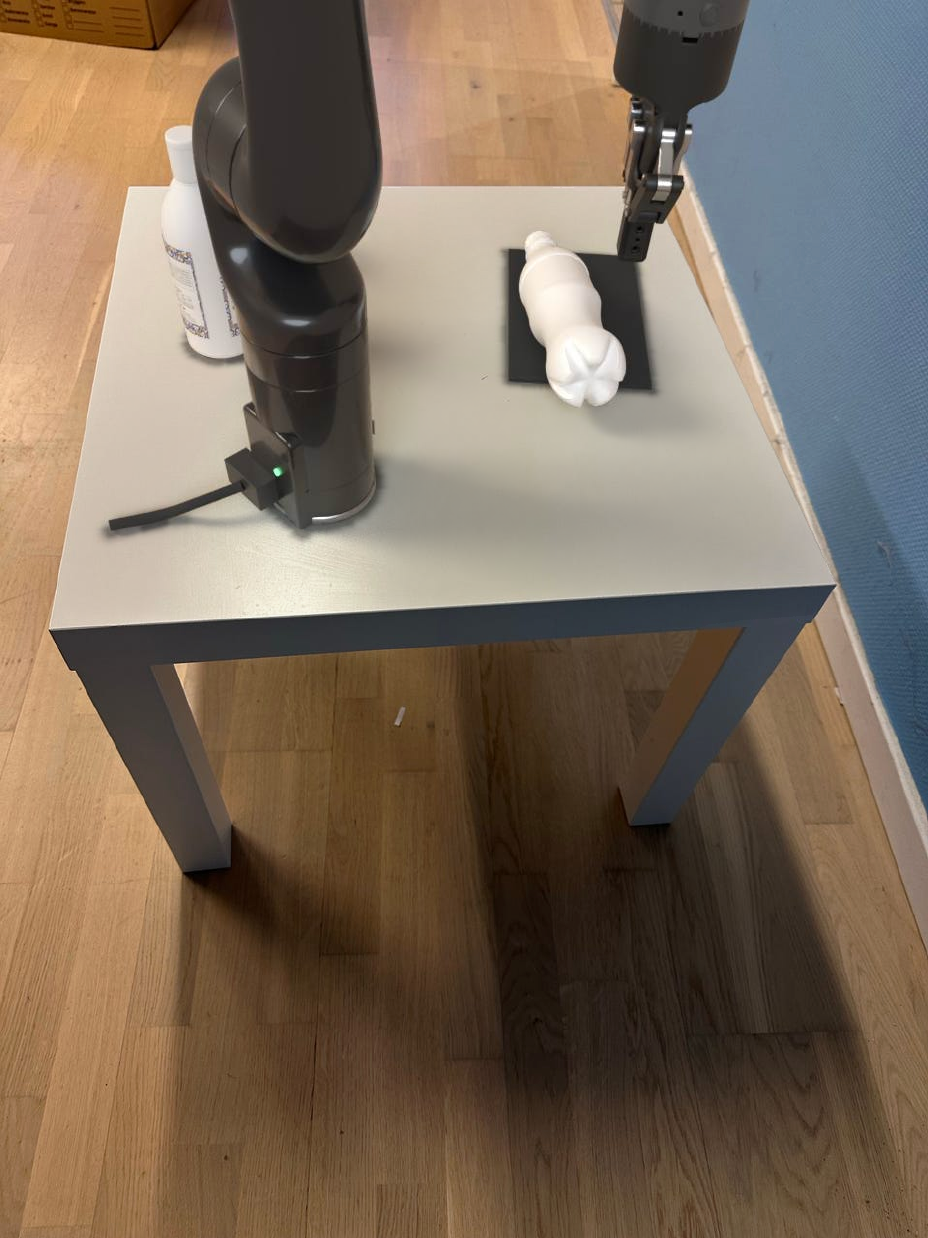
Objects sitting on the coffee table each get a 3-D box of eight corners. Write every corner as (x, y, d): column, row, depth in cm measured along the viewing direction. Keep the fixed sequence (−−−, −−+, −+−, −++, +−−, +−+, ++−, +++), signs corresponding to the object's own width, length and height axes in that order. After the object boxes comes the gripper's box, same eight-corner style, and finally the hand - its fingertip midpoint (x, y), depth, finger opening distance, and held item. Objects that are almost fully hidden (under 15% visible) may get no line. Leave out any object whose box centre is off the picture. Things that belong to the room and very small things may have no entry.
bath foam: (258, 314, 91) (225, 110, 75) (260, 358, 87) (226, 153, 71) (188, 318, 90) (140, 113, 74) (187, 363, 86) (136, 156, 70)
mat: (651, 389, 88) (651, 386, 87) (508, 381, 87) (509, 378, 87) (632, 259, 100) (633, 256, 100) (508, 251, 100) (508, 248, 100)
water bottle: (538, 380, 78) (492, 239, 94) (577, 430, 83) (527, 287, 99) (609, 333, 76) (549, 196, 91) (645, 387, 81) (583, 248, 96)
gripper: (618, -46, 59) (578, 206, 73) (633, 43, 51) (585, 306, 65) (732, -38, 59) (669, 212, 73) (764, 52, 51) (688, 312, 65)
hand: (630, 256), depth 69 cm, fingers closed
